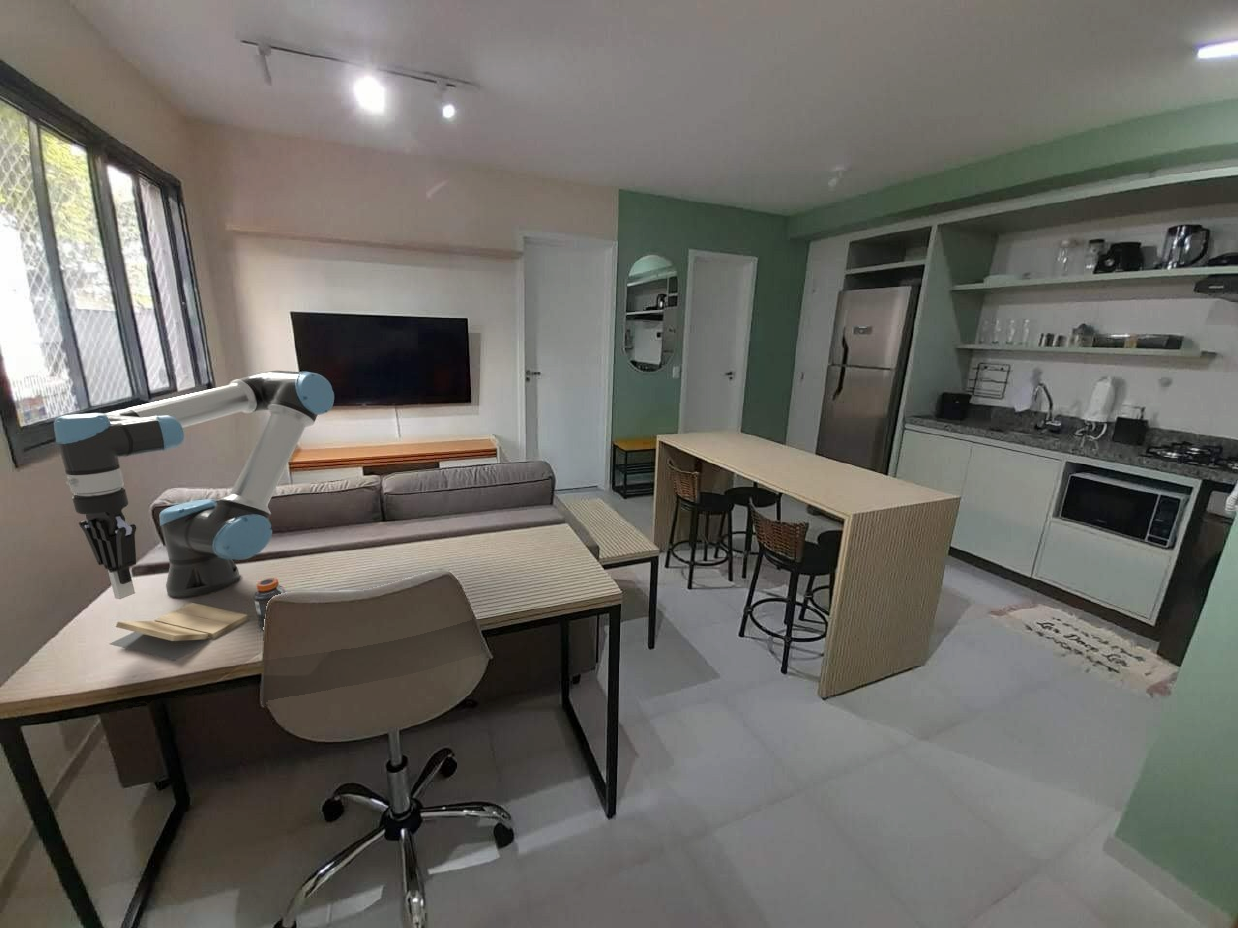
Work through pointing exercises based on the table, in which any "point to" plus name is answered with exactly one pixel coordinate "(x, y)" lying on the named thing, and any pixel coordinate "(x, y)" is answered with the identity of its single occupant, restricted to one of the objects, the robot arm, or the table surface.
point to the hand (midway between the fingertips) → (125, 595)
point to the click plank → (162, 630)
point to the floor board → (203, 619)
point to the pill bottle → (265, 596)
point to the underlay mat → (162, 645)
